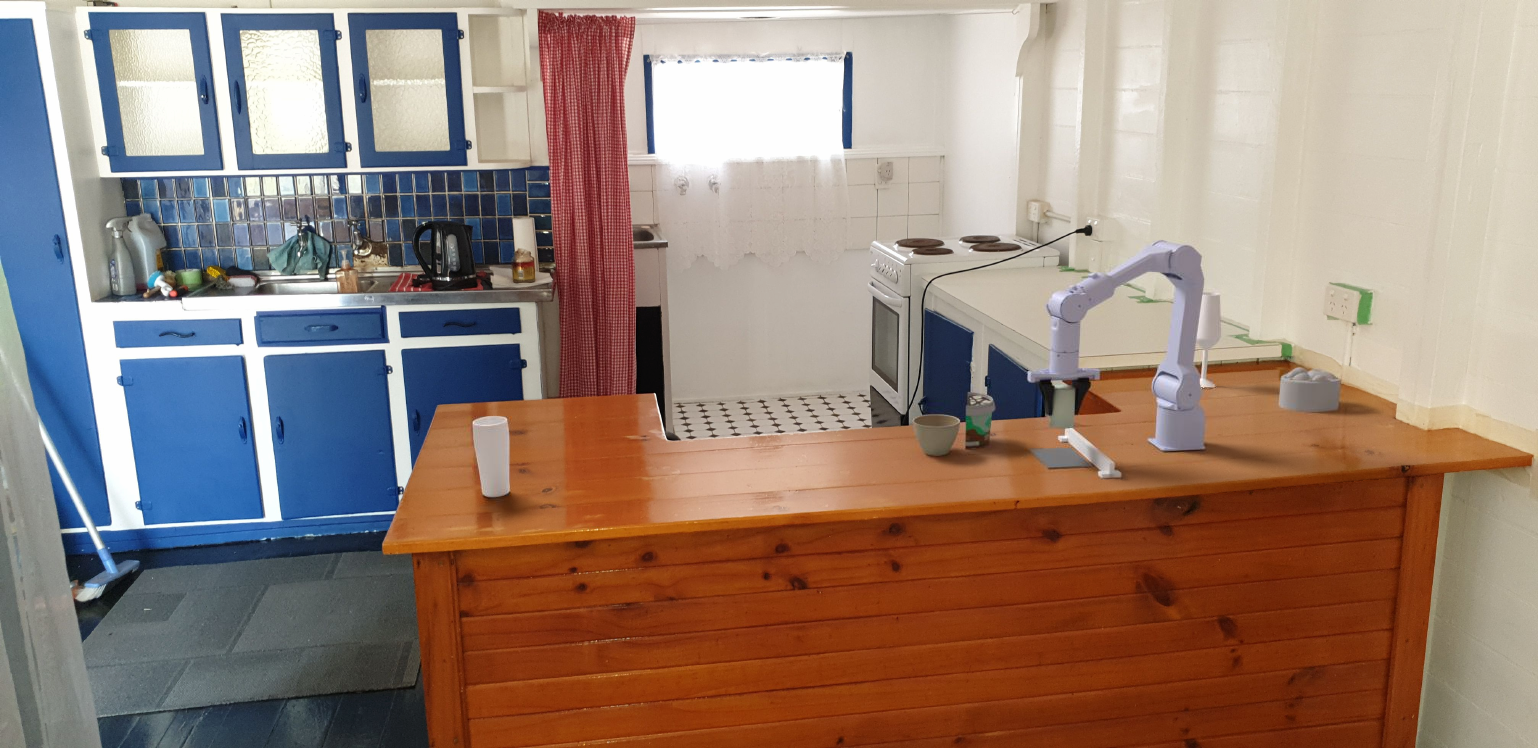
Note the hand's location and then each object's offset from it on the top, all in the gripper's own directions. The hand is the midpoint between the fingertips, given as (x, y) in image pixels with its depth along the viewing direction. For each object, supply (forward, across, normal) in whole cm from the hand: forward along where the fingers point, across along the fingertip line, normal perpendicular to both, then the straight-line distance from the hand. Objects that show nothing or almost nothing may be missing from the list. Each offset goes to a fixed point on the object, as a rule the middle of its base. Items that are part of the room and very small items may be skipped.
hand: (1061, 414), depth 232 cm
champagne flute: (+10, -56, -52) cm, 77 cm away
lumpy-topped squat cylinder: (+10, -70, -30) cm, 77 cm away
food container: (+10, +14, -13) cm, 21 cm away
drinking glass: (+10, +116, +5) cm, 116 cm away
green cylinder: (+2, 0, 0) cm, 2 cm away
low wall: (+10, -6, 0) cm, 11 cm away
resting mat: (+10, 0, 0) cm, 10 cm away
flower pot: (+10, +24, -8) cm, 28 cm away
